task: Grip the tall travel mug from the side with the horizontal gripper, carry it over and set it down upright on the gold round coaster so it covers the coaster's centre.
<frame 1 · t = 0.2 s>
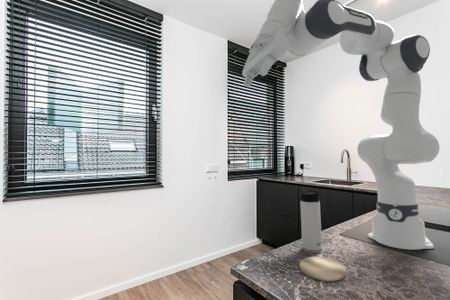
hand: (254, 80, 65), 54 cm above the countertop, tool tilted 30°, fingers open, 8 cm apart
travel mug: (312, 250, 79), on the countertop
gold round coaster: (322, 269, 65), on the countertop
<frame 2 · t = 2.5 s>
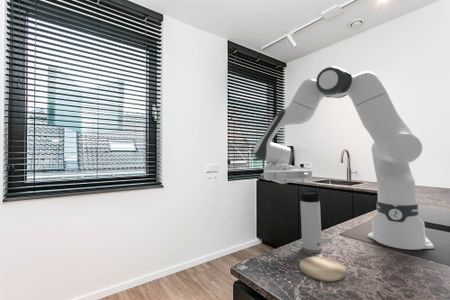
hand: (295, 176, 90), 24 cm above the countertop, tool horizontal, fingers open, 8 cm apart
nothing on the countertop moved.
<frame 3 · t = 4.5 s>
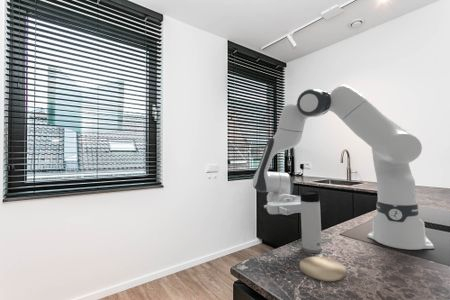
hand: (299, 211, 88), 11 cm above the countertop, tool horizontal, fingers open, 8 cm apart
nothing on the countertop moved.
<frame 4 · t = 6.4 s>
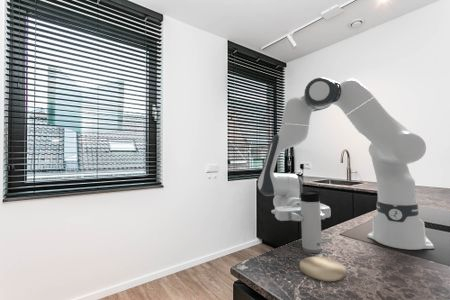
hand: (312, 217, 78), 11 cm above the countertop, tool horizontal, fingers closed on travel mug, 6 cm apart
travel mug: (312, 250, 79), on the countertop, touching gripper
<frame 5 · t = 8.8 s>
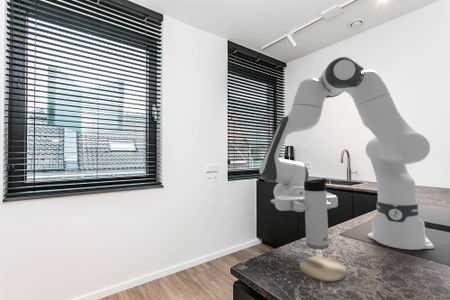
hand: (317, 206, 69), 17 cm above the countertop, tool horizontal, fingers closed on travel mug, 6 cm apart
travel mug: (317, 246, 69), point 5 cm above the countertop, touching gripper
when the fingers open (13 cm above the countertop, at t = 10.9 s): travel mug stays where it is, resting on gold round coaster.
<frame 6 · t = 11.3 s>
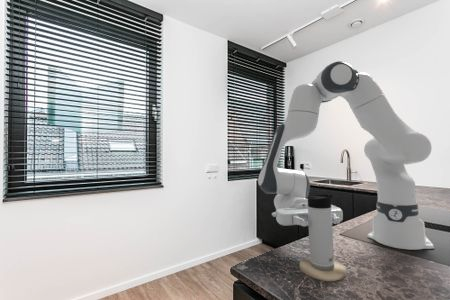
hand: (321, 222, 64), 13 cm above the countertop, tool horizontal, fingers open, 8 cm apart
travel mug: (322, 266, 65), point 1 cm above the countertop, touching gold round coaster
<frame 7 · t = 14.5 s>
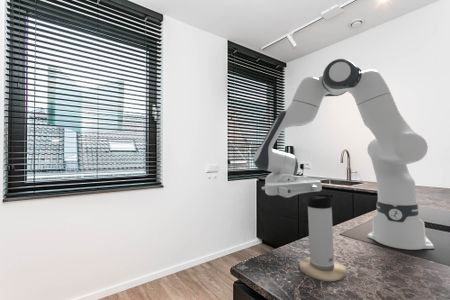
hand: (302, 190, 76), 21 cm above the countertop, tool horizontal, fingers open, 8 cm apart
nothing on the countertop moved.
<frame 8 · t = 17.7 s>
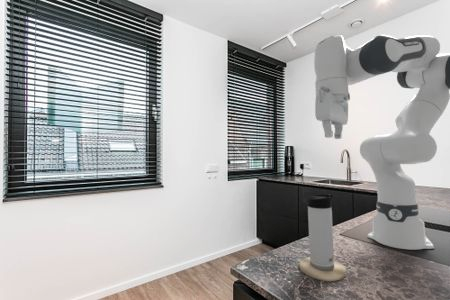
hand: (333, 138, 69), 37 cm above the countertop, tool pointing down, fingers open, 8 cm apart
nothing on the countertop moved.
at the end: travel mug 0.3 cm from the gold round coaster (horizontally); travel mug tilted 0°; travel mug point 0.8 cm above the countertop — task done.
